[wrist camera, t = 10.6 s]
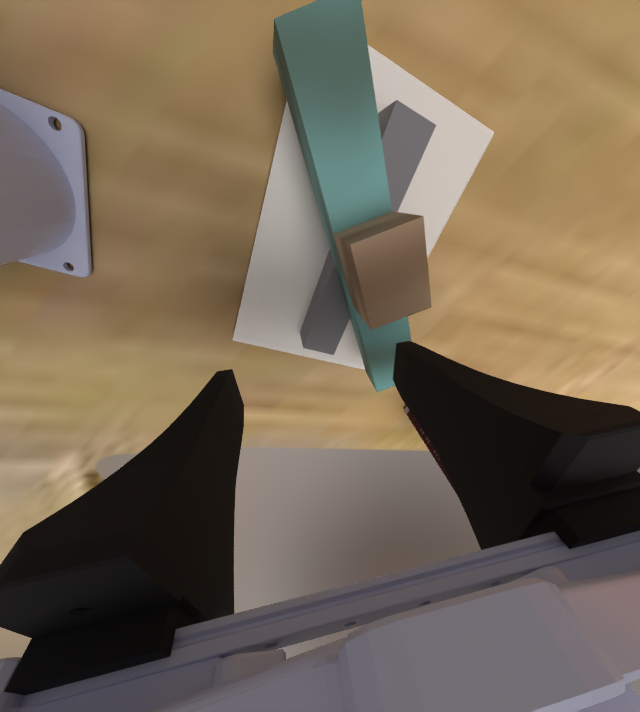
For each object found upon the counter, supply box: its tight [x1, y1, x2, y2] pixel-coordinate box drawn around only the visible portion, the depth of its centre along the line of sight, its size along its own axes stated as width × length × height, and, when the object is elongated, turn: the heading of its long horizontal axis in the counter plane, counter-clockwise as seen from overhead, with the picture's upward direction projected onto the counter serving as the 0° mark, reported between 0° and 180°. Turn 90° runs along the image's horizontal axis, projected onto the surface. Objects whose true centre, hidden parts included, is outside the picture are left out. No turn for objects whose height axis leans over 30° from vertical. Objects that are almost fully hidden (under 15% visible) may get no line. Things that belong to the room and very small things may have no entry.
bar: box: [273, 0, 431, 392], centre depth 13 cm, size 18×3×6 cm, turn 18°
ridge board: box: [233, 45, 495, 370], centre depth 17 cm, size 12×18×3 cm, turn 160°
